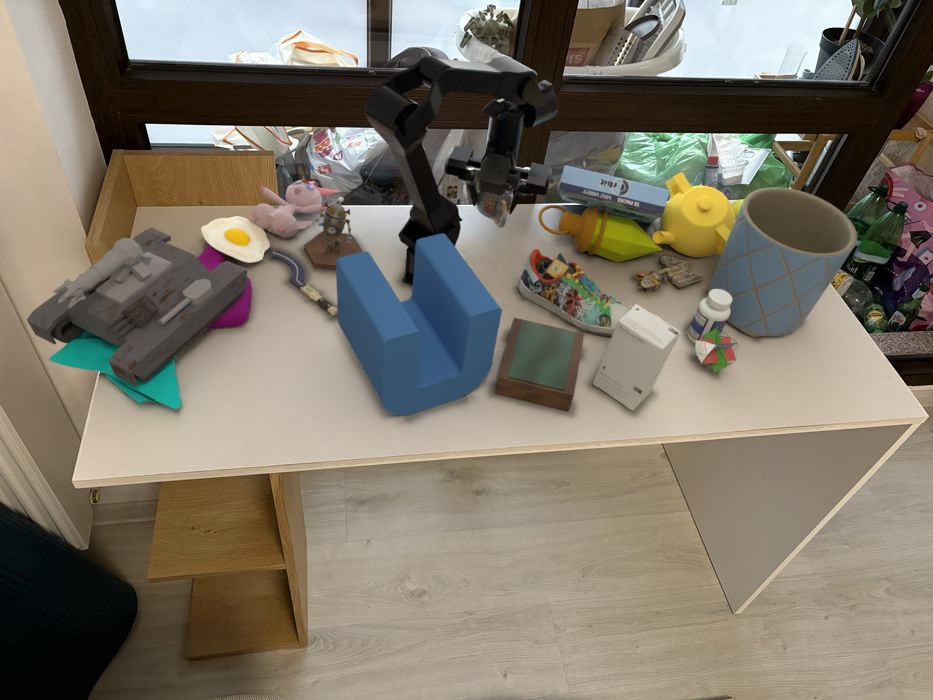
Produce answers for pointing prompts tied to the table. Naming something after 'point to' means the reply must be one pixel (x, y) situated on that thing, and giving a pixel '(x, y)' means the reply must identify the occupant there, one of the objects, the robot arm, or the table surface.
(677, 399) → the table surface
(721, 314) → the pill bottle
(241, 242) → the fried egg
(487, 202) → the mug
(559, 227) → the plumb bob
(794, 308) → the planter
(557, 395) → the framed green board
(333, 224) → the robot figurine
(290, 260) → the decorative blade
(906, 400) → the table surface
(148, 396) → the cloth
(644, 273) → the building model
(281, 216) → the toy
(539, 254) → the sneaker
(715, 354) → the geometric puzzle
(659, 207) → the gum box
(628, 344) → the cosmetic box
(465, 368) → the block
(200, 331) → the toy
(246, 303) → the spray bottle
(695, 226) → the teapot
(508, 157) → the robot arm
